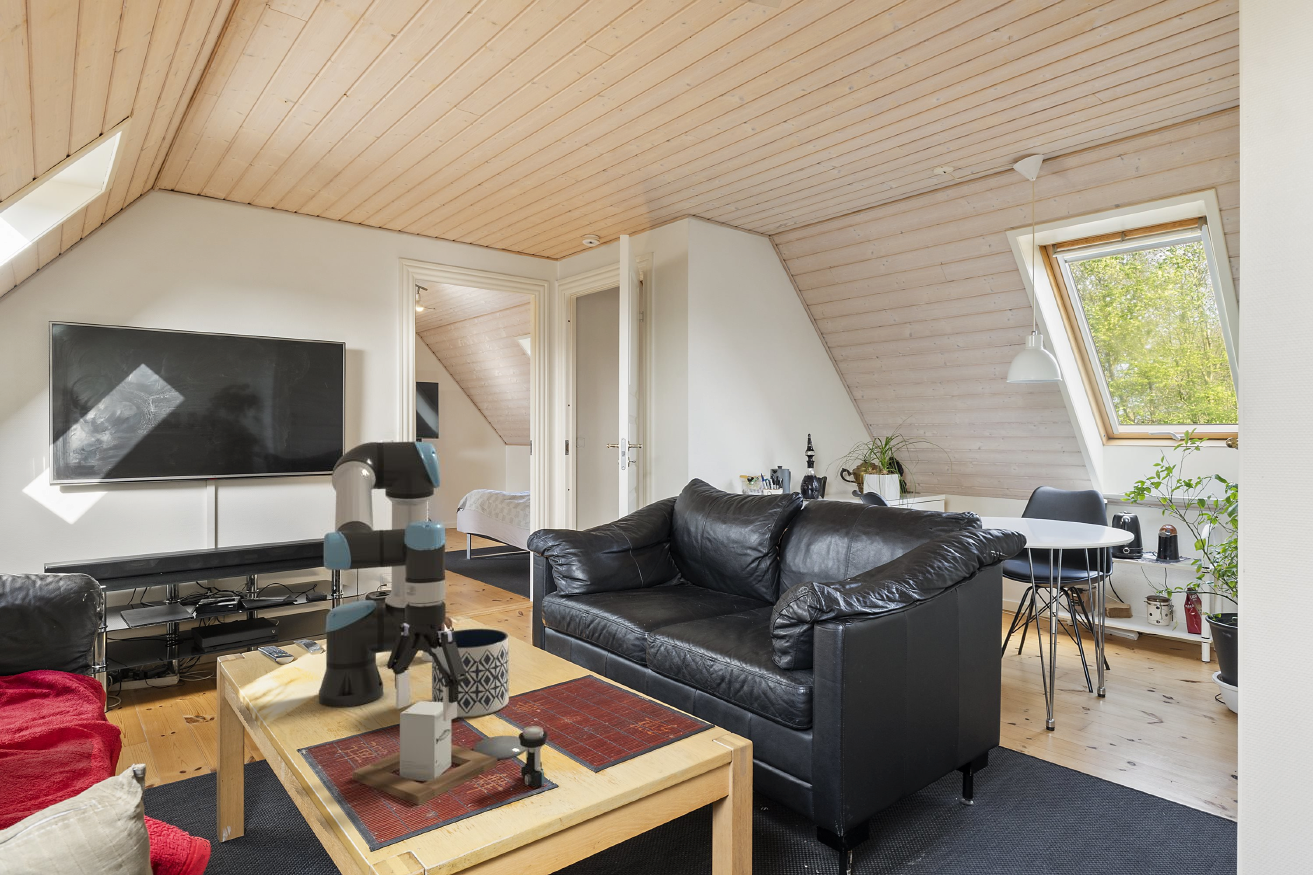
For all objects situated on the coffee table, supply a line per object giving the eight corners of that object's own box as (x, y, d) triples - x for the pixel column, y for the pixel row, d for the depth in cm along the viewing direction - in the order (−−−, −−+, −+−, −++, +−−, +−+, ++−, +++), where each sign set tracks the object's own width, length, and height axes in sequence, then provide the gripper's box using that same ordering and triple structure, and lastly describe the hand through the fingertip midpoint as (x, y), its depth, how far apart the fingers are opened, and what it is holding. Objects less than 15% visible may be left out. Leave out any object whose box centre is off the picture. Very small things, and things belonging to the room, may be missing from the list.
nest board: (352, 779, 143) (352, 771, 143) (432, 745, 159) (432, 738, 159) (418, 804, 133) (418, 796, 133) (497, 765, 149) (497, 758, 149)
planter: (470, 724, 171) (469, 651, 171) (415, 709, 180) (415, 641, 181) (524, 700, 186) (524, 634, 186) (471, 688, 196) (471, 625, 196)
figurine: (429, 653, 229) (429, 603, 230) (458, 653, 228) (458, 604, 228) (414, 662, 220) (414, 610, 220) (445, 663, 218) (445, 611, 219)
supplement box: (434, 782, 141) (434, 715, 142) (398, 779, 143) (398, 712, 143) (452, 766, 149) (452, 702, 149) (418, 763, 150) (418, 699, 150)
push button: (509, 780, 142) (509, 727, 142) (533, 771, 146) (533, 720, 146) (529, 792, 137) (528, 737, 137) (553, 783, 141) (553, 729, 141)
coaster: (462, 751, 155) (462, 748, 155) (500, 734, 165) (500, 731, 165) (500, 764, 149) (500, 761, 149) (538, 745, 159) (538, 742, 159)
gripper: (368, 599, 150) (368, 706, 149) (454, 612, 136) (455, 730, 136) (399, 593, 156) (400, 696, 156) (485, 605, 142) (486, 718, 142)
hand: (426, 712), depth 146 cm, fingers open, 13 cm apart
